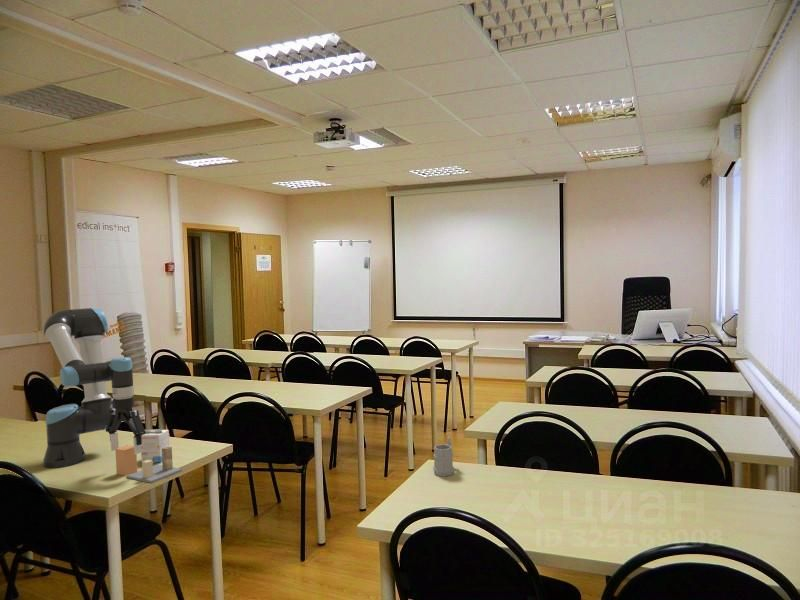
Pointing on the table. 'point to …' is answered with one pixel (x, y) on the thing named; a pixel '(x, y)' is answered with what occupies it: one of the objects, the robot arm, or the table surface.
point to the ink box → (154, 444)
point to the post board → (155, 474)
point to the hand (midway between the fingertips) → (126, 451)
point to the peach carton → (126, 460)
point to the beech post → (167, 458)
